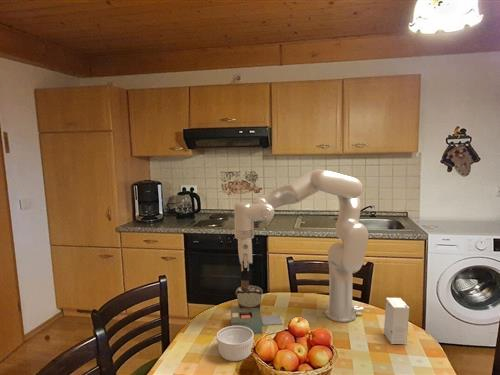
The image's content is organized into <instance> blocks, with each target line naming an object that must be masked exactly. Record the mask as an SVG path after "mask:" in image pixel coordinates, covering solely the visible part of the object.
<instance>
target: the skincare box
mask: <svg viewBox="0 0 500 375" xmlns="http://www.w3.org/2000/svg"><path fill="white" fill-rule="evenodd" d="M409 318H410V306H408V305H407V303H406V302H405V301H404V300H403V299H402V298H401V297H386V298H385V312H384V325H383V326H384V327H383V335H386V336H385V338H386V339H387V340H388V341H389V343H390V345H391V344H405V343H407V344H408V331H409V320H410V319H409Z"/></svg>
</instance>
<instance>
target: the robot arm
mask: <svg viewBox="0 0 500 375" xmlns="http://www.w3.org/2000/svg"><path fill="white" fill-rule="evenodd" d="M318 192H323V193H325V194H331V195H332V196H333V195H334V196H337V199H338V200H339V201H338V203H339V211H338V214H337V215H338V216H337V221H336V225H335V235H336V236H337V238H338V239H340V240H341V241H343V242H335V243H332V244H331V245H330V246H329V249H328V251H327V262H328V268H329V280H328V281H329V288H328V290H329V291H328V292H329V295H328V296H329V297H328V298H329V299H328V300H329V302H328V304H329V305H328V308H327V309H326V310H325V316H326V318H328V320H331V321H334V322H338V323H349V322H353V321H355V319H357V318H356V317H357V315H356V313H357V312H358V313H363V312H364V307H363V306H360V307H359V305H353V282H354V281H353V278H354V277H353V274H355V273H357V272H359V271H360V270H361V268H362V266H363V265H364V261H365V258H366V252H367V248H368V243H369V231H368V229H367V227H366V226H365V224H363V223H362V222H360V216H361V210H362V204H361V199H360V196H361V195H362V192H363V184H362V182H361V180H359V179H358V178H356V177H353V176H349V175H345V174H342V173H339V172H336V171H335V172H334V171H331V170H327V169H321V168H316V169H312V171H309V172H308V173H306V174H304V175H302V176H300V177H298V178H297V179H295V180H293V181H291V182H290V183H288V184H286V185H285V184H284V185H283V186H280V187H279V188H275V189H274V190H271V191H269V192H267V193H265V194H263V195H261V196H260V197H258V198H256V199H254V201H252V203H251V202H248V201H243V202H242V201H241V202H240V201H239V202H237V203H235V204H234V208H233V210H234V212H233V213H234V239H236V240H237V248H238V249H237V251H238V258H239V264H240V265H241V264H242V271H241V270H240V281H241V280H242V281H250V268H249V267H250V264H251V265H253V243H252V239H254V238H255V224H254V223H255V222H265V223H266V222H268V221H271V220H272V219H273V218H274V217H275V216H274V215H275V209H278V208H280V207H282V206H286V205H287V206H288V205H295V204H298V203H300V202H302V201H304V200H306V199H307V198H310V197H311V196H313V195H314V194H317V193H318ZM243 262H244V263H243ZM247 262H248V263H247ZM243 265H244V266H243Z"/></svg>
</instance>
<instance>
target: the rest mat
mask: <svg viewBox="0 0 500 375" xmlns="http://www.w3.org/2000/svg"><path fill="white" fill-rule="evenodd" d="M261 318H262V327H265V326H266V327H267V326H280V325H283V321H282V318H281V315H280V314H266V315H262V314H261Z"/></svg>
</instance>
